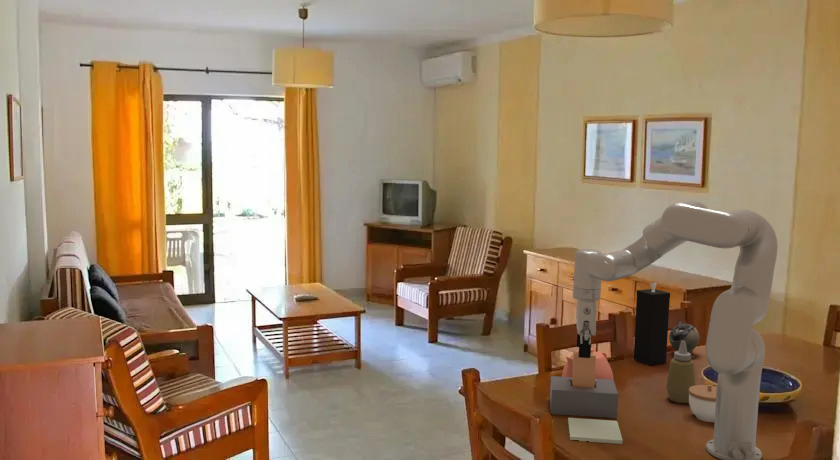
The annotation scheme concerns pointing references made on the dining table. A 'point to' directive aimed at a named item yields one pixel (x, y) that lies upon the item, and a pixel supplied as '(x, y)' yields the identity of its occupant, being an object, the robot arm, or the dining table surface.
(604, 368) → the teapot
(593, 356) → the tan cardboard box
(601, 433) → the mat
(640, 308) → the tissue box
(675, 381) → the squeeze bottle
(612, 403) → the dispenser
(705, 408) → the lidded jar
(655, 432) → the dining table surface
